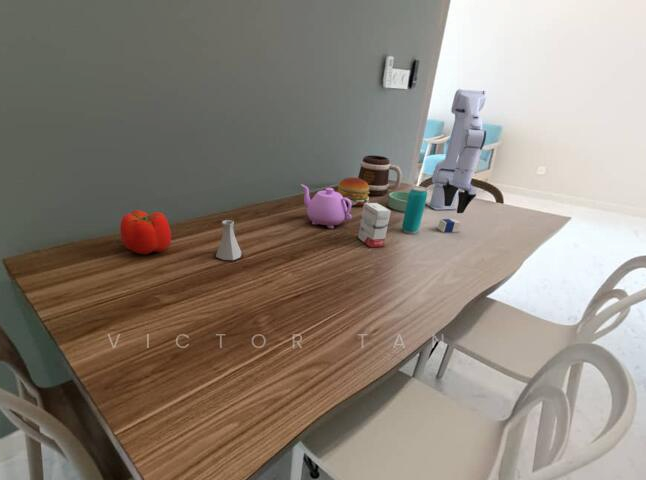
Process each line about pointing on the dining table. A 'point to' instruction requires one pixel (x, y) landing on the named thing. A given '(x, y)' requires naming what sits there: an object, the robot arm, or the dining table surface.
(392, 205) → the bowl
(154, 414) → the dining table surface
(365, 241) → the ink box
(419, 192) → the beverage can
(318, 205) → the teapot
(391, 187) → the mug
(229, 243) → the flask
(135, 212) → the red bell pepper
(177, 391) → the dining table surface
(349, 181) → the burger
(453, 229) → the eraser
